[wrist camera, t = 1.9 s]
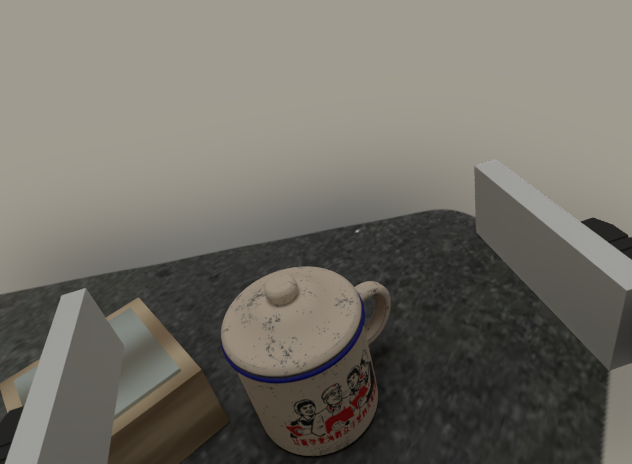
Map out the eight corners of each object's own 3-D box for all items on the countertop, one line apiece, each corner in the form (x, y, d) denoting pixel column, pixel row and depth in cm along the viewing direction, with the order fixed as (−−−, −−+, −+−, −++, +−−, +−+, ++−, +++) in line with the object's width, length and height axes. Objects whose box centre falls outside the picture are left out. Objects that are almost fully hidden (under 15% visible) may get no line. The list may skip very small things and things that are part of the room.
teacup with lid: (303, 492, 29) (249, 374, 23) (237, 399, 36) (180, 287, 29) (439, 377, 34) (426, 251, 27) (358, 313, 40) (332, 199, 34)
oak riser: (43, 431, 37) (-4, 381, 34) (166, 345, 42) (136, 294, 39) (85, 541, 30) (29, 492, 26) (229, 421, 34) (199, 366, 31)
